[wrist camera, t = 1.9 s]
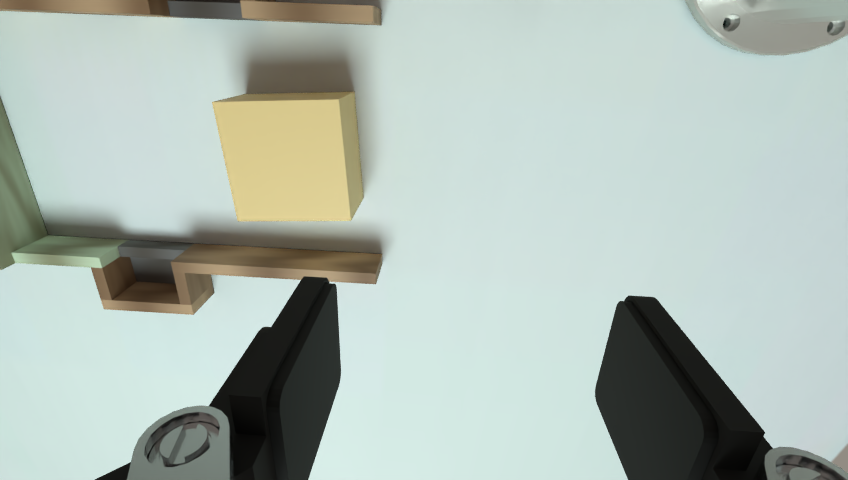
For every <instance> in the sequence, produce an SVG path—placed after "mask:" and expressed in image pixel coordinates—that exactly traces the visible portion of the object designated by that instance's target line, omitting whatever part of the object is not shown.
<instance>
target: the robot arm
mask: <svg viewBox="0 0 848 480" xmlns="http://www.w3.org/2000/svg"><path fill="white" fill-rule="evenodd" d="M685 2H686V4H687V6H688V8H689V9H690V11H691V13H692V15H693V17H694V19H695V20H696V21H697V22H698V23H699V25H700V26H701V27H702V28H703V29H704V30H705V32H706V33H707V34H708V35H710V36H711V37H713V38H714V39H716V40H717V41H718V42H720V43H721V44H723V45H725V46H727V47H730V48H732V49H735V50H738V51H740V52H744V53H751V54H758V55H789V54H795V53H802V52H807V51H810V50H813V49H816V48H819V47H822V46H825V45H828V44H831V43H833V42H835V41H837V40H839V39H841V38H843V37H845V36H847V35H848V0H685ZM724 20H726V25H725V26H724V27H723V22H724ZM340 376H341V364H340V345H339V326H338V307H337V289H336V285H335V284H329V280H328V278H325V277H309V276H304V277H303V278H302V280H301V281H300V283H299V284H298V286H297V287H296V289H295V291H294V292H293V294H292V295H291V297H290V299H289V300H288V302H287V303H286V305H285V306H284V308H283V310H282V311H281V313H280V314H279V316H278V317H277V319H276V321H275V322H274V324H273V325H272V327H263V328H261V330H260V331H259V332H258V333H257V335H256V336H255V338H254V339H253V341H252V342H251V344H250V345H249V347H248V348H247V350H246V351H245V353H244V354H243V356H242V357H241V359H240V360H239V362H238V363H237V365H236V366H235V368H234V369H233V371H232V372H231V374H230V375H229V377H228V378H227V380H226V381H225V383H224V384H223V386H222V387H221V389H220V390H219V392H218V393H217V395H216V396H215V398H214V399H213V401H212V402H211V404H210V405H209V406H193V407H186V408H183V409H180V410H177V411H174V412H172V413H170V414H168V415H166V416H164V417H162V418H160V419H159V420H158V421H156V422H155V423H154V424H152V425H151V426H150V427H149V428H147V430H146V431H145V432H144V433H143V434H142V436H141V437H140V438H139V439H138V442H137V444H136V446H135V449H134V451H133V456H132V460H131V462H130V463H128V464H126V465H124V466H122V467H120V468H118V469H116V470H114V471H112V472H110V473H108V474H106V475H104V476H101V477H99V478H97V479H95V480H308V478H309V475H310V472H311V469H312V466H313V463H314V460H315V457H316V454H317V451H318V448H319V445H320V442H321V438H322V435H323V432H324V429H325V426H326V423H327V420H328V417H329V414H330V411H331V408H332V405H333V402H334V399H335V396H336V393H337V390H338V387H339V383H340ZM595 397H596V402H597V405H598V407H599V410H600V412H601V415H602V417H603V419H604V422H605V424H606V427H607V429H608V432H609V434H610V437H611V439H612V441H613V444H614V446H615V449H616V451H617V454H618V456H619V458H620V461H621V463H622V466H623V468H624V471H625V473H626V476H627V478H628V480H848V473H847V472H845V471H844V470H843V469H842V468H840V467H838V466H836V465H835V464H833V463H831V462H830V461H828V460H826V459H824V458H822V457H820V456H817V455H815V454H813V453H810V452H808V451H804V450H800V449H796V448H792V447H778V448H774V449H773V448H772V447H771V446H770V444H769V443H768V442H767V441H766V439H765V438H764V437H763V436H764V434H765V432H764V430H763V429H762V428H761V427H760V426H759V424H758V423H757V422H756V421H755V419H754V418H753V417H752V416H751V415H750V413H749V412H748V411H747V410H746V408H745V407H744V406H743V405H742V403H741V402H740V401H739V400H738V399H737V397H736V396H735V395H734V394H733V392H732V391H731V390H730V389H729V387H728V386H727V385H726V384H725V383H724V381H723V380H722V379H721V378H720V376H719V375H718V374H717V373H716V372H715V370H714V369H713V368H712V367H711V365H710V364H709V363H708V362H707V360H706V359H705V358H704V357H703V356H702V354H701V353H700V352H699V351H698V349H697V348H696V347H695V346H694V344H693V343H692V342H691V341H690V340H689V338H688V337H687V336H686V335H685V333H684V332H683V331H682V330H681V329H680V327H679V326H678V325H677V324H676V322H675V321H674V320H673V319H672V317H671V316H670V315H669V314H668V313H667V311H666V310H665V309H664V308H663V306H662V305H661V304H660V303H659V301H658V300H657V299H656V298H654V297H642V296H628V297H626V299H625V301H620V302H619V303H618V304H617V307H616V310H615V314H614V318H613V322H612V326H611V330H610V333H609V337H608V341H607V345H606V349H605V353H604V357H603V361H602V364H601V368H600V372H599V376H598V380H597V384H596V389H595Z"/></svg>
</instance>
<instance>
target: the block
mask: <svg viewBox="0 0 848 480" xmlns="http://www.w3.org/2000/svg"><path fill="white" fill-rule="evenodd" d="M212 104H213V108H214V113H215V118H216V122H217V127H218V132H219V136H220V141H221V146H222V150H223V155H224V160H225V164H226V169H227V174H228V178H229V183H230V188H231V192H232V197H233V202H234V206H235V211H236V216H237V220H238V221H351V220H352V218H353V216H354V214H355V212H356V211H357V209H358V207H359V205H360V203H361V202H362V200H363V186H362V174H361V163H360V151H359V139H358V128H357V116H356V104H355V92H314V93H267V94H243V95H239V96H235V97H231V98H227V99H223V100H219V101H214V102H212Z"/></svg>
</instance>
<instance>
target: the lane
mask: <svg viewBox="0 0 848 480" xmlns="http://www.w3.org/2000/svg"><path fill="white" fill-rule="evenodd" d="M0 11H20V12H47V13H73V14H99V15H125V16H151V17H178V18H204V19H230V20H256V21H282V22H308V23H335V24H361V25H381V10H380V9H379V8H377V7H375V6H370V5H342V4H315V3H288V2H276V0H0ZM14 263H24V264H41V265H58V266H75V267H91V269H92V273H93V276H94V279H95V282H96V285H97V289H98V292H99V295H100V298H101V301H102V305H103V308H104V309H110V310H127V311H143V312H159V313H175V314H191V315H194V314H195V312H196V311H197V310H198V309H199V308H200V307H201V306H202V305H203V304H204V303H205V302H206V301H207V300H208V299H209V298H210V297H211V296H212V295H213V294H214V290H213V284H212V279H211V274H212V275H229V276H246V277H263V278H280V279H297V280H302V278H303V277H304V276H309V277H325V278H328V280H329V281H331V282H348V283H365V284H376V282H377V279H378V276H379V273H380V269H381V266H382V254H372V253H354V252H337V251H319V250H301V249H283V248H265V247H248V246H230V245H212V244H194V243H177V242H159V241H141V240H123V239H106V238H88V237H70V236H52V235H48V234H47V231H46V228H45V225H44V222H43V219H42V216H41V214H40V211H39V208H38V205H37V202H36V199H35V196H34V193H33V191H32V188H31V185H30V182H29V179H28V176H27V173H26V170H25V167H24V165H23V162H22V159H21V156H20V153H19V150H18V147H17V144H16V142H15V139H14V136H13V133H12V130H11V127H10V124H9V121H8V118H7V116H6V113H5V110H4V107H3V104H2V101H1V98H0V270H2V269H4V268H6V267H8V266H10V265H12V264H14Z"/></svg>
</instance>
